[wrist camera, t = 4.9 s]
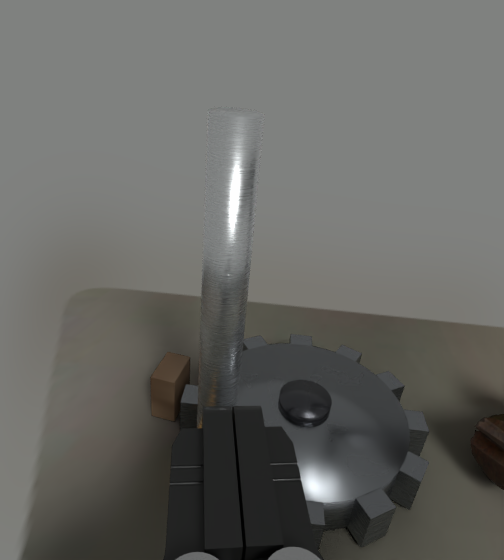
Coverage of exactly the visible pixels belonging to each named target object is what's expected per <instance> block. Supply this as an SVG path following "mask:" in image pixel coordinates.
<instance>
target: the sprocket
mask: <svg viewBox="0 0 504 560" xmlns="http://www.w3.org/2000/svg"><path fill="white" fill-rule="evenodd" d="M263 126H264V114H263V113H261V112H258V111H254V110H249V109H242V108H229V107H218V108H211V109H209V110H208V124H207V153H206V183H205V210H204V237H203V238H204V239H203V266H202V268H203V269H202V295H201V322H200V351H199V379H198V386H196V385H188V384H186V386H185V389H184V392H183V396H182V399H181V409H180V430H181V429H182V428H202V413H203V406H231V410H232V407H233V406H261V408H262V413H263V419H264V425H265V427H276V426H281V427H282V428H283V429H284V431H285V432H286V434H287V435H288V436H289V438H290V439H291V441H292V442H293V445H294V449H295V454H296V458H297V465H298V467H299V472H300V476H301V481H302V485H303V490H304V494H305V499H306V504H307V508H308V513H309V517H310V522H311V526H312V531H313V535H314V540H315V543H316V546H317V549H319V545H320V541H321V538H322V534H323V531H327V530H335V529H340V528H344V527H347V528H348V529H349V531H350V532H351V534H352V535H353V537H354V538H355V540H356V541H357V543H358V544H359V546H360V547H363V546H365V545H367V544H369V543H371V542H373V541H375V540H377V539H379V538H381V537H383V536H385V535H386V532H387V529H388V527H389V524H390V522H391V519H392V517H393V514H394V511H395V509H396V506H395V505H394V504H393V503H392V501H391V500H393V501H395V502H397V503H398V504H400V505H402V506H403V507H405V508H407V509H409V510H410V508H411V505H412V503H413V500H414V498H415V496H416V493H417V491H418V488H419V486H420V483H421V481H422V479H423V476H424V474H425V471H426V469H427V466H428V464H429V462H428V461H426V460H425V459H423V458H421V457H419V456H420V453H421V451H422V448H423V446H424V443H425V441H426V438H427V436H428V433H429V430H428V427H427V424H426V421H425V418H424V415H423V412H420V411H411V410H403V408H402V406H401V404H400V402H399V401H400V398H401V395H402V392H403V389H404V385H403V384H402V383H401V382H400V381H399V380H398V379H397V378H396V377H395V376H394V375H393V374H391V373H390V372H389V371H387V372H384V373H380V374H377V375H375V374H374V373H372V372H371V371H370V370H368V369H367V368H366V367H364V366H362V365H361V364H359V363H360V359H361V355H362V353H360V352H357V351H355V350H353V349H351V348H348V347H346V346H344V345H341V346H340V348H339V349H338V350H337V351H336V352H333V351H330V350H326V349H323V348H319V347H314V346H312V337H311V336H302V335H294V334H291V335H290V342H289V344H270V345H268V344H267V343H266V342H265V340H264V339H263V338H262V337H261V336H256V337H252V338H247V339H244V328H245V317H246V307H247V296H248V285H249V275H250V263H251V254H252V253H251V252H252V243H253V232H254V222H255V211H256V200H257V190H258V179H259V168H260V158H261V147H262V136H263ZM389 498H390V499H391V500H390V499H389Z"/></svg>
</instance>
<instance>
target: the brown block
mask: <svg viewBox="0 0 504 560" xmlns="http://www.w3.org/2000/svg"><path fill="white" fill-rule="evenodd" d="M150 379H151V409H152V416H155V417H159V418H163V419H166V420H170V421H175V420H176V418H177V416H178V414H179V412H180V409H181V399H182V396H183V392H184V389H185V386H186V384H188V385H189V383H190V357H188V356H184V355H179V354H175V353H171V352H167V354H166V355H165V357H164V358H163V359H162V361H161V362H160V364H159V365H158V367H157V368H156V370H155V371H154V373H153V374H152V376H151V377H150Z"/></svg>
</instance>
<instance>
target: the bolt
mask: <svg viewBox="0 0 504 560" xmlns="http://www.w3.org/2000/svg"><path fill="white" fill-rule="evenodd" d="M474 427H476V428H477V429H478V430H480V431H476V430H475V434H474V437H472V438H471V449H472V454H473V456H474V458H475V459H476V461H477V463H478V465H479V466H480V467H481V469H482V470H483V472H484V473H485V474H486V475H487V477H488V478H489V479H490V480H492V481H493V482H494V483H495V484H496V485H497V486H498V487H500V488H501V489H503V490H504V414H500V415H493V416H491V417H489V418H483V419H481V420H480V421H479V422H478V423H477V424H476V425H475V426H474Z"/></svg>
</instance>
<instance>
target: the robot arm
mask: <svg viewBox="0 0 504 560" xmlns="http://www.w3.org/2000/svg"><path fill="white" fill-rule="evenodd" d="M163 560H324V559H323V558H322V556H321V555H320V553H319V551H318V549H317V546H316V543H315V540H314V535H313V531H312V526H311V522H310V517H309V513H308V508H307V504H306V499H305V494H304V490H303V485H302V481H301V476H300V472H299V467H298V465H297V458H296V454H295V449H294V445H293V442H292V441H291V439H290V438H289V436H288V435H287V434H286V432H285V431H284V429H283V428H282V427H281V426H276V427H265V425H264V419H263V413H262V408H261V406H233V407H232V410H231V406H203V413H202V428H182V429H181V431H180V433H179V434H178V436H177V438H176V440H175V442H174V443H173V445H172V457H171V473H170V489H169V504H168V520H167V536H166V550H165V556H164V559H163Z"/></svg>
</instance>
